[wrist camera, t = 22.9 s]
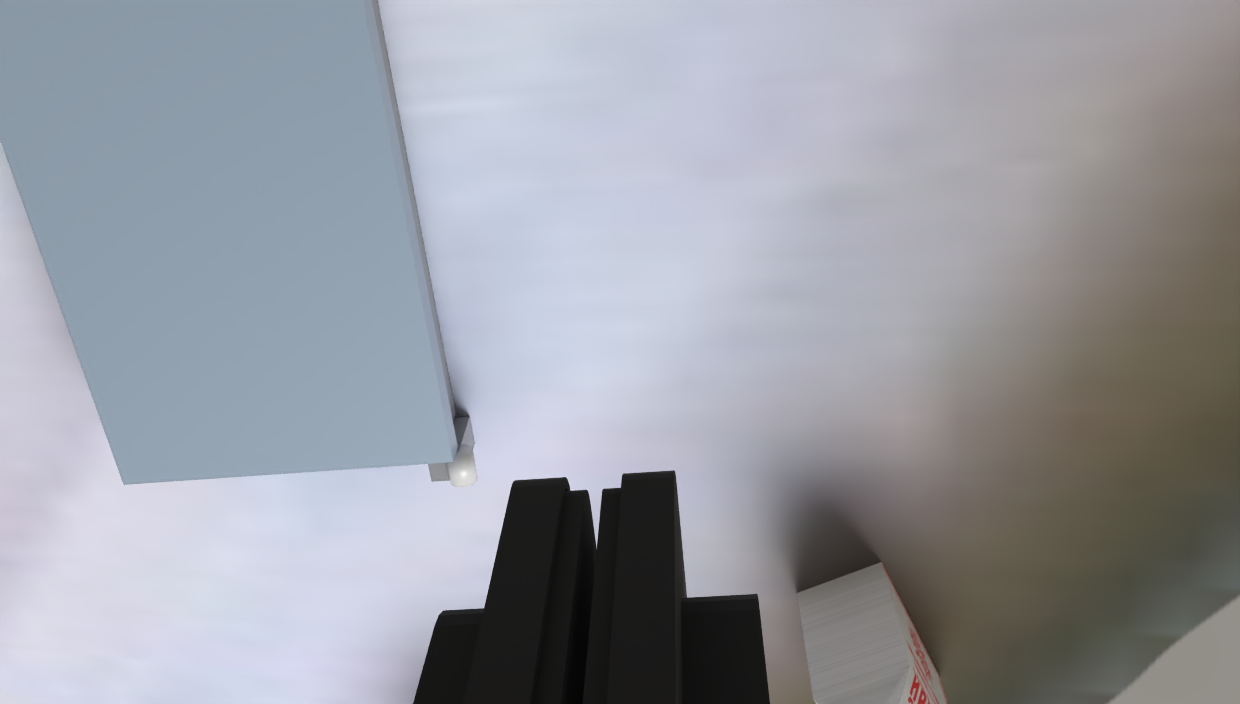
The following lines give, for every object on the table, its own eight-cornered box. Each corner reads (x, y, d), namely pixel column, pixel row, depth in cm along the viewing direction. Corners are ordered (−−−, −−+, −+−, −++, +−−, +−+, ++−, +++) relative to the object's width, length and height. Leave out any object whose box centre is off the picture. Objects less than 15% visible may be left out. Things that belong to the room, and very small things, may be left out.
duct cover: (324, -245, 30) (314, -246, 29) (457, 446, 40) (453, 461, 39) (-98, -197, 31) (-120, -196, 30) (135, 469, 41) (123, 484, 40)
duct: (354, -301, 32) (326, -308, 29) (487, 442, 43) (475, 486, 40) (-58, -252, 33) (-123, -255, 30) (176, 462, 44) (144, 506, 41)
